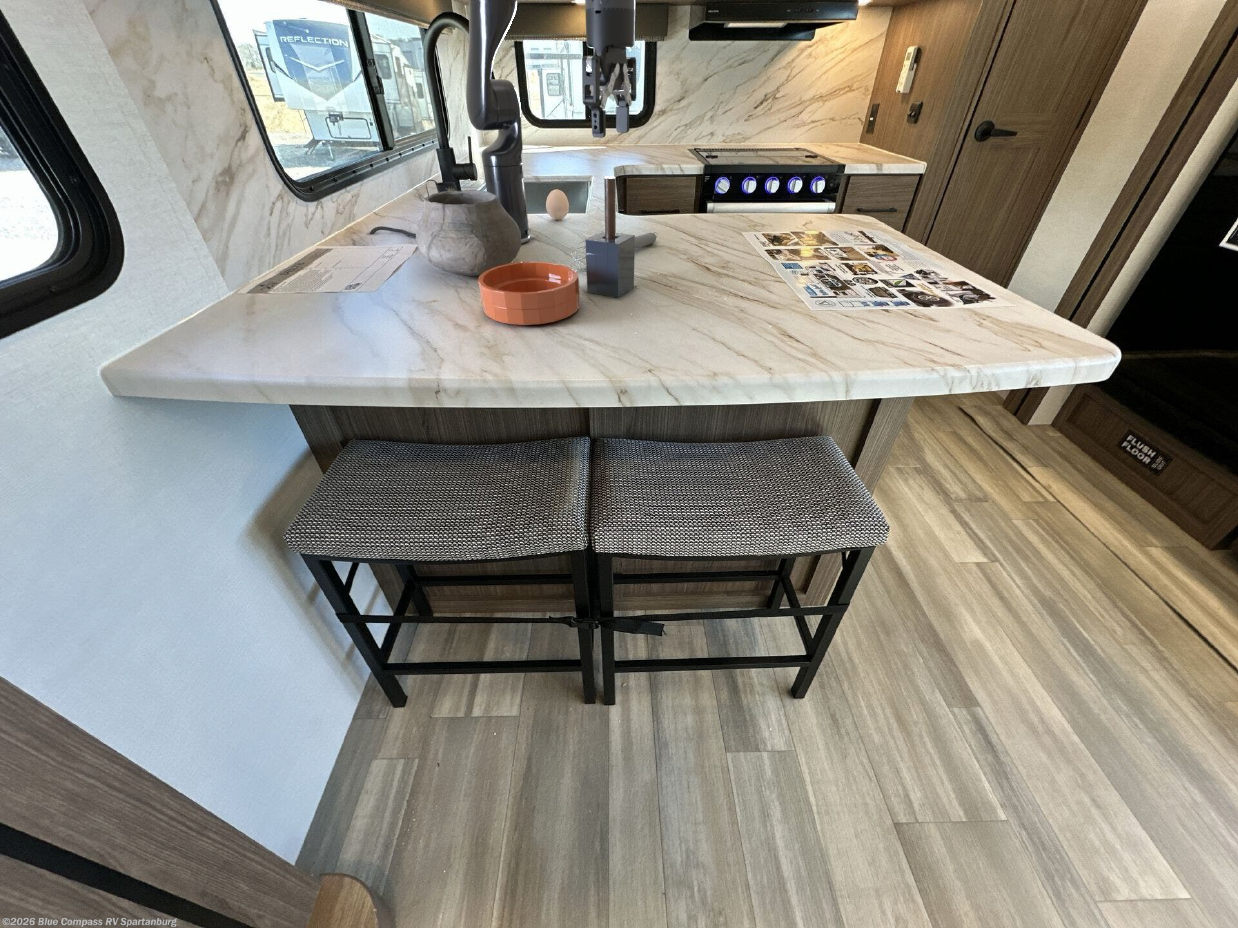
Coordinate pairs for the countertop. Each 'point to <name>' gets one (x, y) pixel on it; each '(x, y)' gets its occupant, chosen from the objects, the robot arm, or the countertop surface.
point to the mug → (443, 186)
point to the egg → (557, 204)
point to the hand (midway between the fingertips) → (611, 135)
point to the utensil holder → (610, 264)
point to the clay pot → (467, 232)
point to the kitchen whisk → (639, 242)
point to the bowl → (529, 292)
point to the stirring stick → (610, 207)
